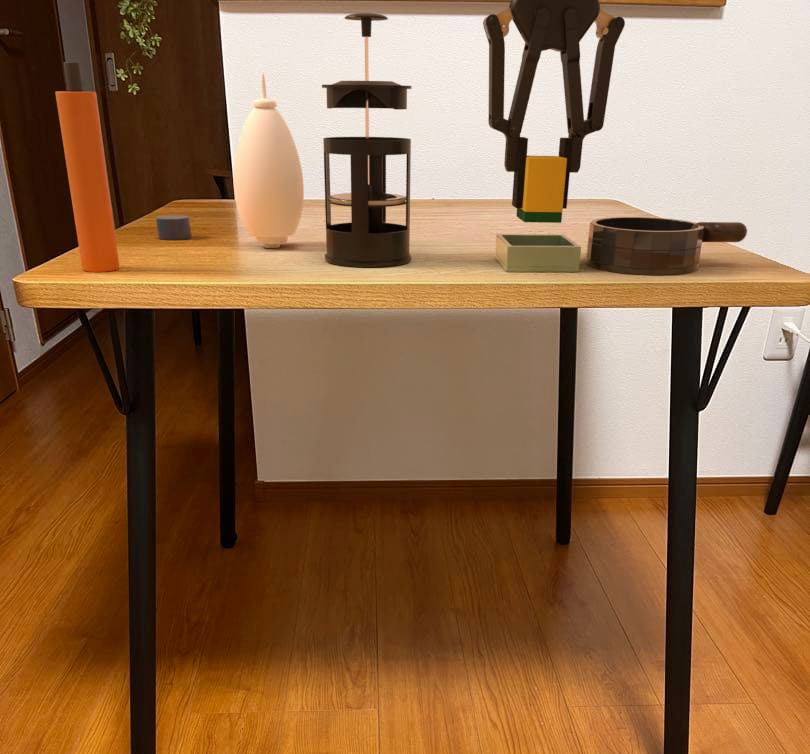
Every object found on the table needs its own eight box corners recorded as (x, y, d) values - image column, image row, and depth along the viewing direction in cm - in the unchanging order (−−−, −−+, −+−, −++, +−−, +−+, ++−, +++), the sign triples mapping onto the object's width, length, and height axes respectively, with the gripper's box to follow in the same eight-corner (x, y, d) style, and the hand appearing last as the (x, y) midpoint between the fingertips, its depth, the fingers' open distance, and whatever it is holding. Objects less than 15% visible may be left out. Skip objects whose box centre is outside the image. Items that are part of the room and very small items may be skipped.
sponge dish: (578, 272, 90) (581, 246, 89) (506, 271, 90) (507, 246, 88) (562, 258, 97) (564, 234, 96) (495, 257, 97) (496, 234, 96)
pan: (600, 275, 89) (605, 231, 87) (576, 255, 99) (579, 216, 97) (713, 275, 89) (720, 232, 87) (677, 256, 99) (683, 217, 97)
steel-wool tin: (198, 237, 108) (196, 216, 107) (172, 241, 106) (170, 220, 104) (177, 234, 111) (175, 214, 109) (151, 237, 108) (149, 217, 107)
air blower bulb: (309, 242, 106) (303, 73, 98) (301, 252, 99) (293, 72, 91) (245, 241, 106) (233, 72, 98) (232, 251, 99) (218, 71, 91)
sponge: (516, 216, 94) (520, 155, 91) (551, 217, 94) (556, 155, 91) (524, 222, 89) (528, 157, 86) (561, 222, 89) (567, 158, 86)
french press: (403, 270, 90) (406, 8, 79) (314, 266, 91) (305, 8, 80) (418, 252, 100) (422, 18, 90) (338, 249, 101) (333, 18, 91)
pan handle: (692, 243, 92) (695, 223, 91) (685, 240, 94) (688, 220, 93) (748, 243, 92) (751, 223, 91) (740, 240, 94) (744, 221, 93)
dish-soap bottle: (122, 265, 91) (95, 63, 82) (116, 271, 87) (87, 62, 79) (86, 265, 90) (55, 62, 82) (79, 272, 87) (46, 61, 79)
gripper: (473, -74, 77) (461, 210, 87) (663, -70, 77) (628, 212, 88) (464, -61, 83) (454, 201, 94) (639, -57, 84) (610, 203, 95)
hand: (538, 206), depth 91 cm, fingers closed on sponge, 4 cm apart
